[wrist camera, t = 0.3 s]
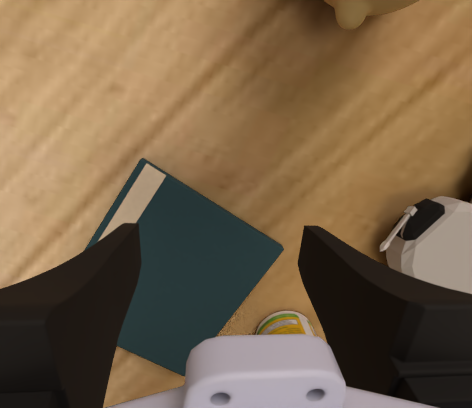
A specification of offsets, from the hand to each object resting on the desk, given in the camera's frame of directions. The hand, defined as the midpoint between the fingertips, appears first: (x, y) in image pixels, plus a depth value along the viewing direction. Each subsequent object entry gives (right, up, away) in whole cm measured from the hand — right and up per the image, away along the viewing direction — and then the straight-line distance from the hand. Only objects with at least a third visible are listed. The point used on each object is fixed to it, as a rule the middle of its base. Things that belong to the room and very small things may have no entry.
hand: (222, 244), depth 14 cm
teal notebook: (-5, -4, +12) cm, 14 cm away
